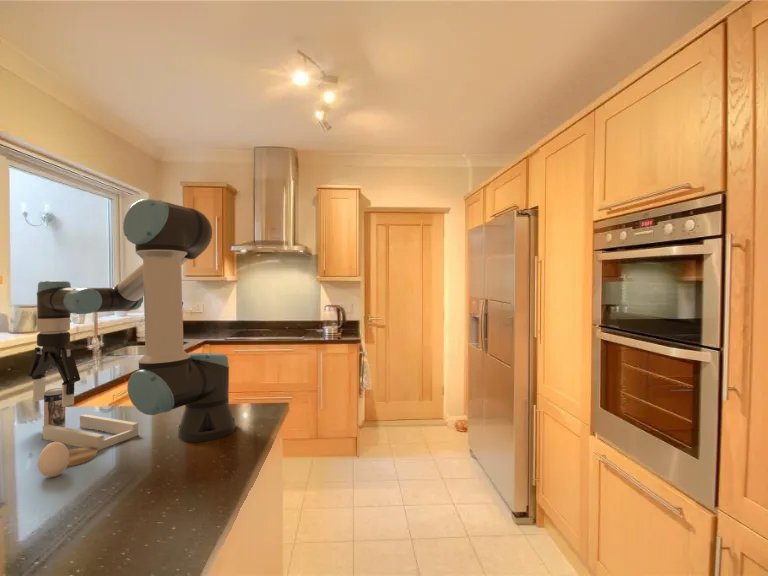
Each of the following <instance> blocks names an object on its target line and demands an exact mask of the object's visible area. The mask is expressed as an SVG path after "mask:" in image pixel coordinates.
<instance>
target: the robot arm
mask: <svg viewBox="0 0 768 576" xmlns="http://www.w3.org/2000/svg"><path fill="white" fill-rule="evenodd" d="M122 224H123V225H122V230H123V235H124V236H125V237H126V240H127V241H129V242H130V243H131V244H133V245H135V247H134V248H135V254H136V255H137V256H139V258H141V260H142V263H141V264H139V266H137V267H136V268H135V269H134V270H132V271H131V273H129V274H128V275H127V276H126V277H125V278H123V280H121V281H120V282H119V283H118V284H116V285H115V286H114V287H85V286H84V287H72V286H71V282H69V281H67V280H41V281H39V282H38V283H37V292H36V302H37V303H36V305H37V306H36V310H37V311H36V315H37V318H36V332H37V333H38V334H36V345H37V346H35V348H34V355H33V358H32V360H31V361H32V362H31V364H30V367H29V369H28V373H27V376H28V377H31V380H32V381H33V383H32V402H39V401H43V400H44V394H45V392H46V376H47V375H46V374H47V373H46V372H47V371H48V369H49V368H50V366H51V365H53V366H55V367H56V370H57V371H58V373H59V375H60V377H61V379H62V381H63V382H62V383H61V388H62V407H65V408H66V407H69V406H72V405H75V383H77V382H80V381H81V377H80V372H79V370H78V365H77V363H76V360H75V358H74V357H75V356H74V349H73V348H68V349H66V346H67V345H69V344H70V343H71V332H69V331H70V330H71V322H72V321H71V314H76V315H88V314H92V313H93V314H94V313H105V312H107V313H109V312H110V313H111V312H129V311H135V310H138V309H139V308H141V307H142V304H143V308H144V309H143V310H144V313H143V314H144V342H145V343H144V344H145V345H144V347H145V353H144V355H143V356H142V357H141V358H140V359H139V360H138V370H136V371H134V372H133V373H131V375H130V376H129V377H130V378H128V380H127V388H126V389H127V394H128V398H129V400H130V402H131V404H132V405H133V406H134V407H135V409H136V410H137V411H139V412H141V413H142V414H144V415H148V416H155V415H159V414H162V413H168V412H171V411H172V410H174V409H177V408H180V407H184V410H183V413H182V417H181V421H180V424H179V425H178V427H177V428H178V429H177V438H178V440H180V441H183V442H188V443H190V442H191V443H197V442H199V443H200V442H208V441H212V440H213V441H214V440H217V439H221V438H223V437H225V436H228V435H230V434H231V433H234V431H235V430H236V420H235V417H234V416H233V413H232V409H231V406H230V402H229V399H230V398H229V395H230V393H229V390H230V389H229V386H230V385H229V383H230V382H229V381H230V365H229V358H228V356H227V355H226V354H224V353H216V352H214V353H213V352H212V353H211V352H193V353H192V352H190V353H187V352H186V350H185V349H184V347H185V346H184V319H183V318H184V315H183V313H184V312H183V283H182V282H183V281H182V265H184V263H186V262H187V261H188V260H191V261H193V260H196V258H198V257H199V256H200V255H201V254H202V253H204V252H205V251H206V250H207V248H208V247H209V246H210V244H211V241H212V239H213V226H212V224H211V222H210V220H209V219H208V218H207V216H206V215H205V214H204V213H203V212H201V211H200V210H198V209H195V208H191V207H186V206H182V205H179V204H176V203H175V204H174V203H171V202H168V201H164V200H161V199H160V200H157V199H151V198H143V199H140V200H138V201H135V202H134V203H133V204H132V205H131V206H130V208H128V210H127V211H126V213H125V216H124V219H123V223H122Z"/></svg>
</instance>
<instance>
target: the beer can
mask: <svg viewBox="0 0 768 576" xmlns="http://www.w3.org/2000/svg"><path fill="white" fill-rule="evenodd" d="M46 425H54V426H59V427H64V428H66V406H65V407H62V387H56V388H50V389H46V390H45V394H44V401H43V426H46Z"/></svg>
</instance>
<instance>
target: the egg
mask: <svg viewBox="0 0 768 576" xmlns="http://www.w3.org/2000/svg"><path fill="white" fill-rule="evenodd" d="M68 450H69V449H68V448H67V446H66V444H65V443H61V442H55V441H52V442H50V443H48V444H47V445H45V446H44V448H43V449H42V451H41V452H40V454H39V457H38V460H37V467H38V471H39V473H40V474H41V475H42V476H43V477H47V478H55V477H57V476H59V475H60V474H61V475H62V473H63V472H64V471H65V470H66V469H67V468H68V467H67V466H68V463H69V459H70V456H69V451H68Z"/></svg>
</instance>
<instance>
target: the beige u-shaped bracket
mask: <svg viewBox="0 0 768 576" xmlns="http://www.w3.org/2000/svg"><path fill="white" fill-rule="evenodd" d="M79 428H83V429H88V430H92V429H96V430H95V431H98V430H103V431H106V432H105V433H109V432H110V433H109V434H112V435H110V436H108V437H105V435H104V434H100V433H96V432H95V433H94V432H92V431H91V432H90V431H85V430H79V429H73V428H70V427H59V426H54V425H46V426H44V425H43V426H42V439H43V440H47V441H52V442H61V443H63V444H64V445H69V446H70V445H71V446H75V447H78V448H82V447H92V448H96V449H97V451H100V450H103V449H105V448H108V447H110V446H111V447H112V446H113V445H116V444H119V443H121V442H125V441H127V440H130V439H132V438H135V437H137V436H139V422H134V421H129V420H122V419H118V418H117V419H116V418H111V417H110V418H109V417H104V416H99V415H98V416H97V415H92V414H86V413H84V414H82V415H79ZM103 431H102V432H103ZM114 433H115V434H114Z"/></svg>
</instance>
